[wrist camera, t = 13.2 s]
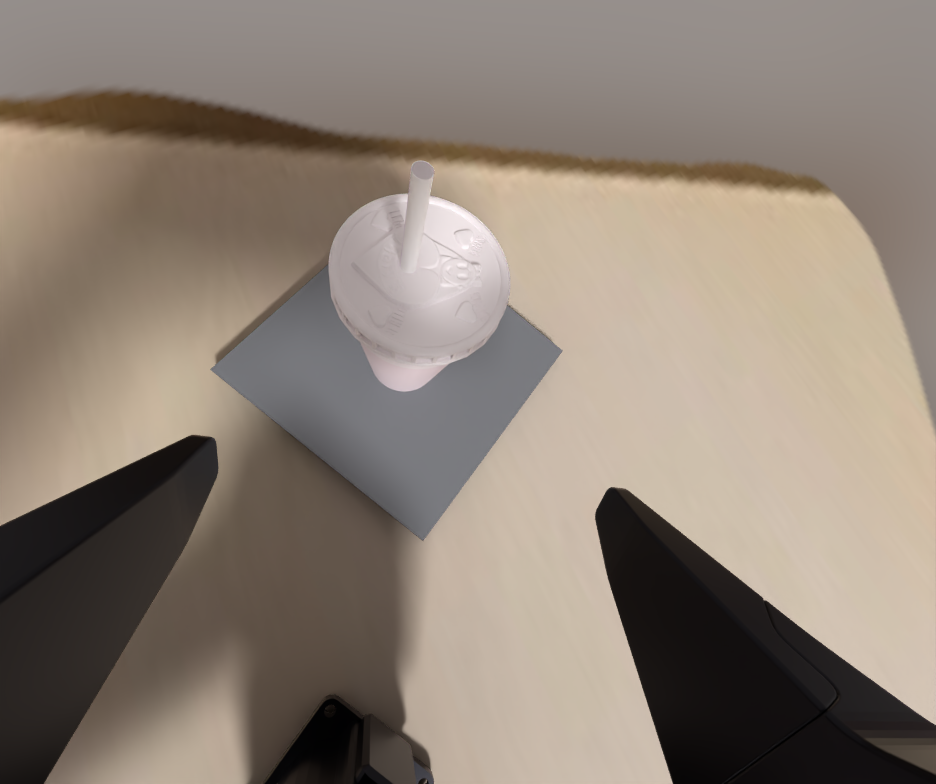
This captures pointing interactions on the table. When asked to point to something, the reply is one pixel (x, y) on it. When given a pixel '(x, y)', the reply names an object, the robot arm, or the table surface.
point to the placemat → (385, 402)
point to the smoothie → (417, 282)
